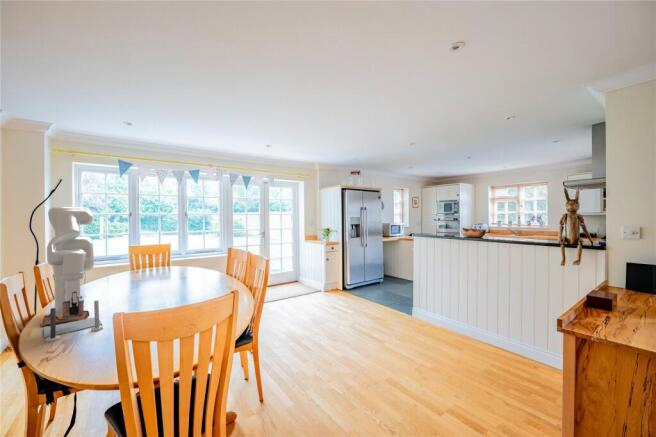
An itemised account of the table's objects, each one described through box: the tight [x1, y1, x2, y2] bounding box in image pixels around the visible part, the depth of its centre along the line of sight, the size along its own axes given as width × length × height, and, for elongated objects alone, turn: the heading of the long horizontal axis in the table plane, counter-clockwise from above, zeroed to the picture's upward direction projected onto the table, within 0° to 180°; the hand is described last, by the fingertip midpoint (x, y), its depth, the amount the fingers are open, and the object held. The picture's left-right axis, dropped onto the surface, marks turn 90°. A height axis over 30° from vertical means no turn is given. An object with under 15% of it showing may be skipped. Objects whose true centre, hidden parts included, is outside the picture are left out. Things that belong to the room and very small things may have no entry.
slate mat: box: [43, 316, 103, 339], centre depth 133 cm, size 14×20×1 cm
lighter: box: [62, 295, 85, 319], centre depth 133 cm, size 8×3×10 cm, turn 114°
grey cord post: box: [90, 299, 104, 332], centre depth 131 cm, size 4×4×14 cm
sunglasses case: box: [39, 310, 90, 328], centre depth 141 cm, size 18×7×7 cm, turn 122°
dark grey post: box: [45, 307, 61, 343], centre depth 120 cm, size 4×4×14 cm
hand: (73, 313), depth 133 cm, fingers closed on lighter, 4 cm apart
